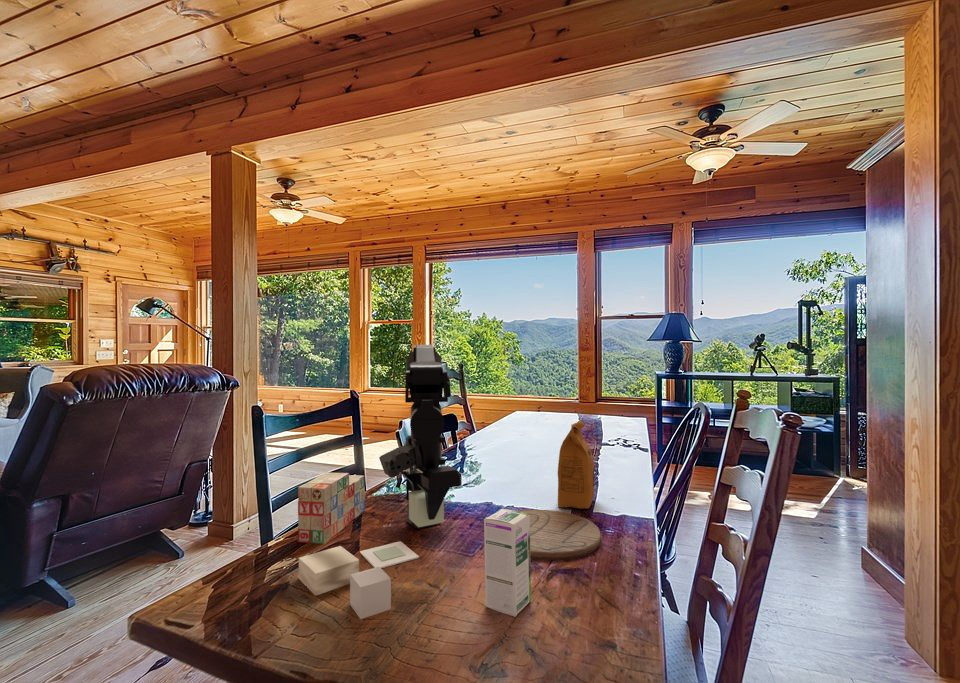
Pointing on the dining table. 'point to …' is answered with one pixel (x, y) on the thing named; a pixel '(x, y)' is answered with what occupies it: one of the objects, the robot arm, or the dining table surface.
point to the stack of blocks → (328, 505)
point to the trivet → (560, 535)
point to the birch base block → (327, 569)
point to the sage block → (422, 510)
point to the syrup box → (507, 561)
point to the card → (388, 555)
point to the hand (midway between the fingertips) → (426, 514)
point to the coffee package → (575, 471)
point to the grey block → (370, 592)
